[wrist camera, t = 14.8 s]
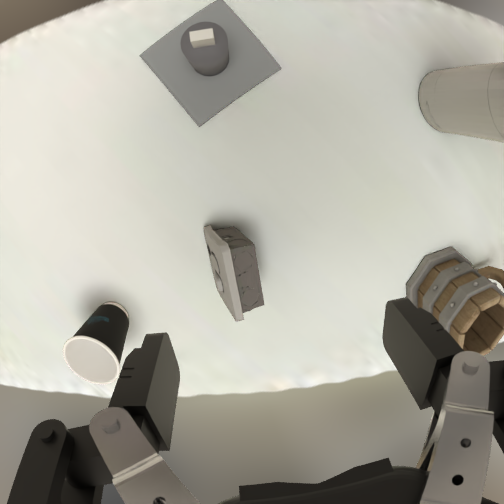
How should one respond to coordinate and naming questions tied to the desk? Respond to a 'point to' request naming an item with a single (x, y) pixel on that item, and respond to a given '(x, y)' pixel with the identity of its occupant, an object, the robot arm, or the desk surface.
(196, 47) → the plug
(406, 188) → the desk surface
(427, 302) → the tankard
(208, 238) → the electrical switch
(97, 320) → the dixie cup
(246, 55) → the mat
